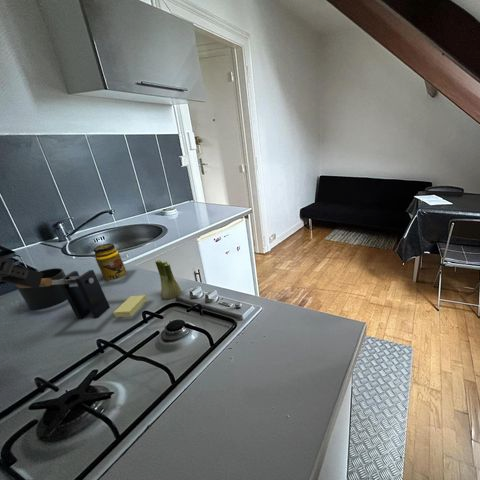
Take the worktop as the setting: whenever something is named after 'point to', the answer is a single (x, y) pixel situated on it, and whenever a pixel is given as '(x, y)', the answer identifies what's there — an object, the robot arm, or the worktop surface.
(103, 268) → the condiment
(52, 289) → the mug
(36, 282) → the robot arm
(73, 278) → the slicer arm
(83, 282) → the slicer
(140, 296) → the butter
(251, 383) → the worktop surface
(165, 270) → the fennel bulb
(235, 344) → the worktop surface
